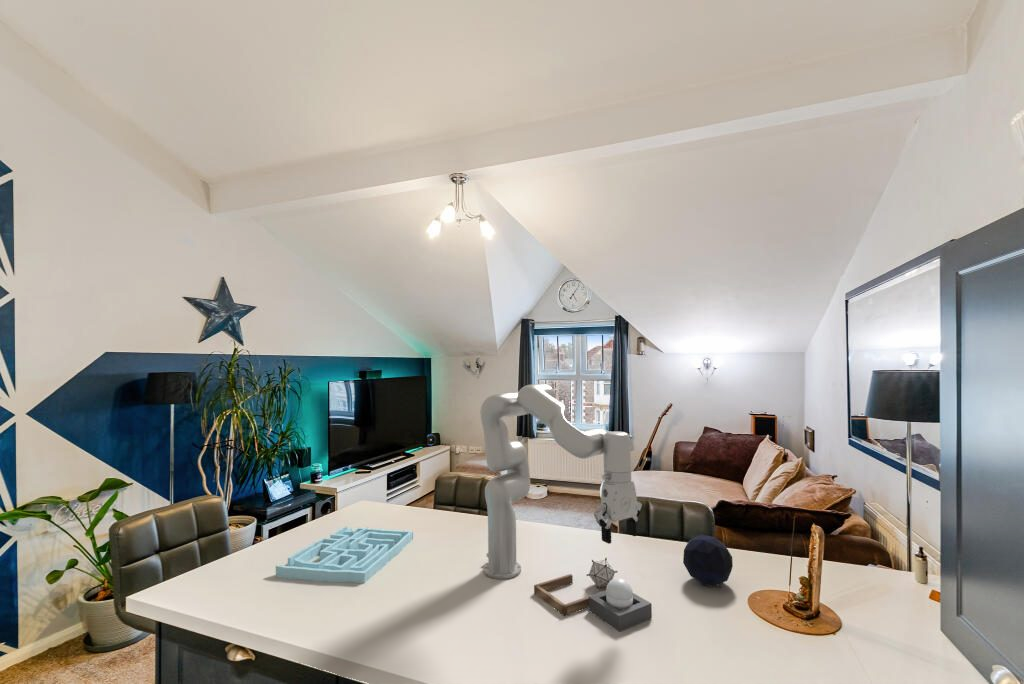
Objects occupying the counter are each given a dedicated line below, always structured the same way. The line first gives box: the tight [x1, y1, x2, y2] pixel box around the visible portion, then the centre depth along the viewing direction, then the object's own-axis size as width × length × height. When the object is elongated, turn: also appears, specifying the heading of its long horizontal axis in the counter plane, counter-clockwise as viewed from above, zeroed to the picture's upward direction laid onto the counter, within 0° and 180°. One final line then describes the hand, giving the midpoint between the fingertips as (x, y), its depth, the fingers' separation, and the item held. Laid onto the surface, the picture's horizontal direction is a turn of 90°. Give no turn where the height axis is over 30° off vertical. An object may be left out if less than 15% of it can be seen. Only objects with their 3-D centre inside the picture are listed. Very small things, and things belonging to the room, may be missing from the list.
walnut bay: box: [533, 573, 601, 617], centre depth 137 cm, size 15×14×2 cm
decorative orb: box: [682, 534, 734, 587], centre depth 146 cm, size 14×15×15 cm
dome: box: [605, 577, 634, 610], centre depth 128 cm, size 7×7×7 cm
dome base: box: [588, 590, 653, 632], centre depth 128 cm, size 12×12×4 cm
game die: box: [586, 556, 618, 590], centre depth 144 cm, size 9×8×10 cm
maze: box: [275, 525, 414, 584], centre depth 170 cm, size 40×33×4 cm
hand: (619, 538), depth 129 cm, fingers open, 9 cm apart
